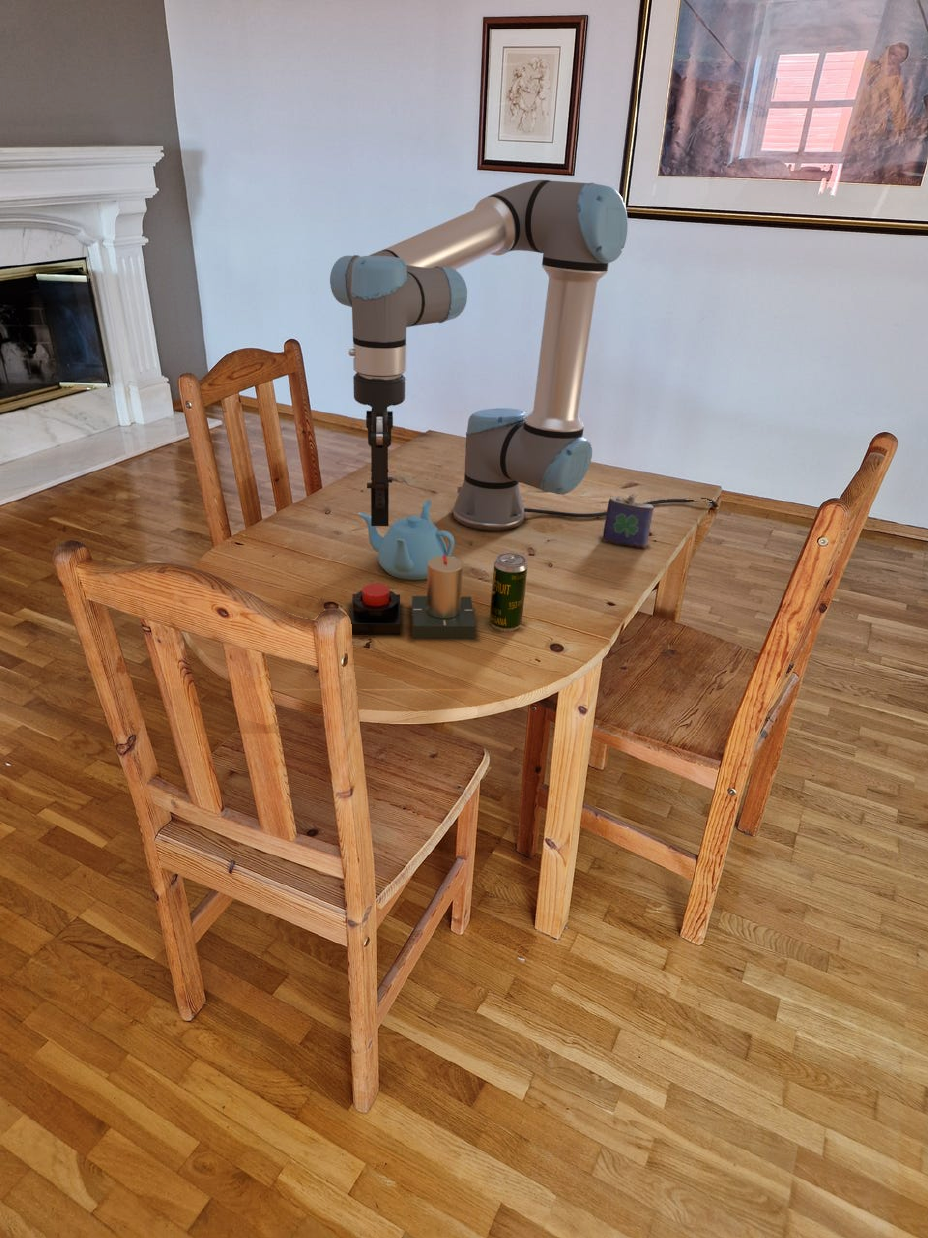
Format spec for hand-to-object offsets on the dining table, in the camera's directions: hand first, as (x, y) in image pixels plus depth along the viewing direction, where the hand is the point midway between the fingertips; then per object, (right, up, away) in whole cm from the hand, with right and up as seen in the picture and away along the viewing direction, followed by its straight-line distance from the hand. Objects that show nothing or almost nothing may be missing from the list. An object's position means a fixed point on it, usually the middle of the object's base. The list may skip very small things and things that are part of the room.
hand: (379, 524), depth 129 cm
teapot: (+3, -6, +23) cm, 24 cm away
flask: (+46, 0, +39) cm, 60 cm away
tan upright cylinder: (+10, -14, +4) cm, 17 cm away
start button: (-1, -12, +3) cm, 13 cm away
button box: (-1, -15, +5) cm, 16 cm away
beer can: (+20, -16, +6) cm, 27 cm away
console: (+10, -16, +5) cm, 19 cm away
